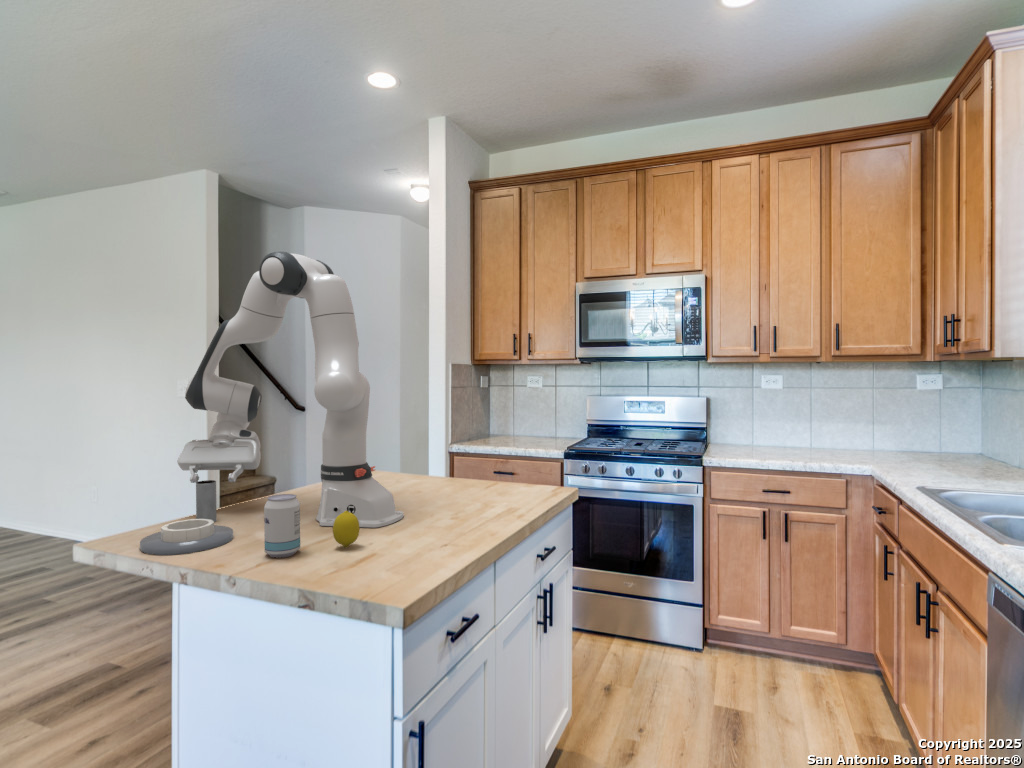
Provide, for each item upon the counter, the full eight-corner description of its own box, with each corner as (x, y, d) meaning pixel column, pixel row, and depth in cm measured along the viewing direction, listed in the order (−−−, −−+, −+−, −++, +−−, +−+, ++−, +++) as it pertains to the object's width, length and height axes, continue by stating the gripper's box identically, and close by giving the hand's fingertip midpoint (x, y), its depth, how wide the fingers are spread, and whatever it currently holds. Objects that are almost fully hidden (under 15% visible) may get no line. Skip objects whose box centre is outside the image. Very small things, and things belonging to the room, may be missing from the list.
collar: (250, 535, 131) (250, 518, 131) (183, 558, 114) (183, 539, 114) (192, 528, 137) (192, 512, 137) (119, 550, 120) (119, 531, 120)
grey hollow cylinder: (201, 519, 146) (200, 480, 146) (219, 519, 146) (219, 480, 146) (193, 524, 141) (192, 483, 141) (211, 524, 142) (211, 483, 141)
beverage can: (264, 551, 119) (264, 495, 119) (299, 547, 122) (299, 492, 122) (264, 561, 113) (263, 501, 113) (301, 556, 116) (300, 498, 115)
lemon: (352, 552, 119) (351, 514, 118) (328, 550, 120) (327, 513, 120) (364, 544, 124) (363, 508, 124) (341, 543, 125) (340, 507, 125)
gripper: (183, 433, 154) (166, 474, 144) (261, 432, 156) (249, 473, 147) (190, 447, 158) (174, 488, 149) (266, 446, 161) (255, 487, 151)
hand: (212, 481), depth 148 cm, fingers open, 8 cm apart
